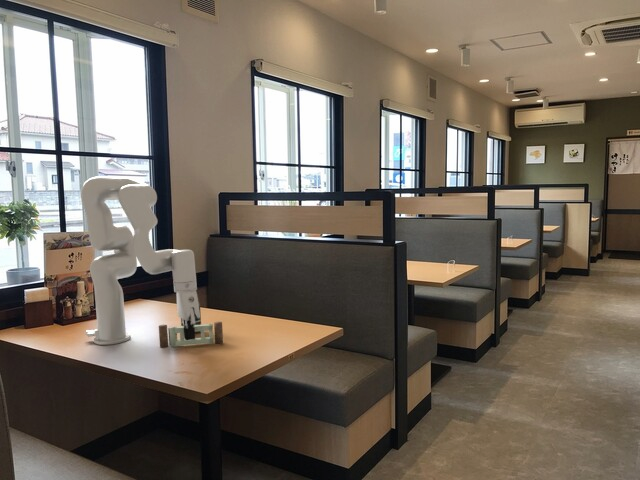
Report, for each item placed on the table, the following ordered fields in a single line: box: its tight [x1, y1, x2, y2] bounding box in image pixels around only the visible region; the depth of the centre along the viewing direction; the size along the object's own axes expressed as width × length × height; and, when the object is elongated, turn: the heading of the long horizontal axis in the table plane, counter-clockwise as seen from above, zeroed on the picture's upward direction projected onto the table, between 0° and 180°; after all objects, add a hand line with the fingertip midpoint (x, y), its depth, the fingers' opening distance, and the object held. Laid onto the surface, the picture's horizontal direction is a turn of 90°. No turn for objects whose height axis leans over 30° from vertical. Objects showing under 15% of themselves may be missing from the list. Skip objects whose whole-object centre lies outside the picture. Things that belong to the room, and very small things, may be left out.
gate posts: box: [158, 321, 224, 349], centre depth 177 cm, size 22×4×8 cm, turn 96°
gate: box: [168, 323, 214, 348], centre depth 175 cm, size 15×2×6 cm, turn 102°
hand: (189, 339), depth 172 cm, fingers closed
